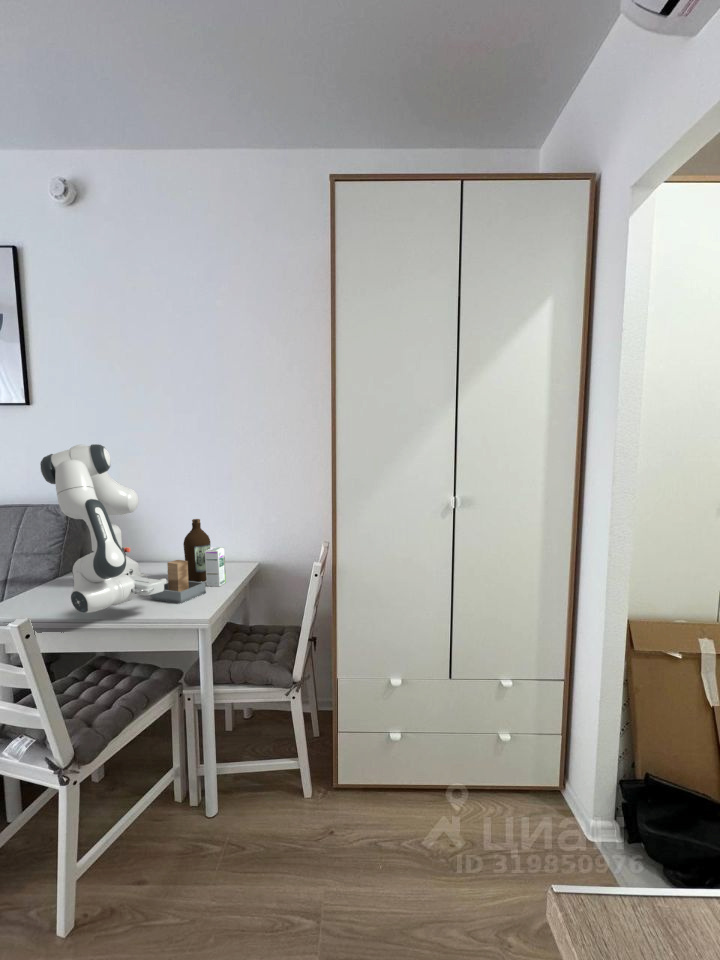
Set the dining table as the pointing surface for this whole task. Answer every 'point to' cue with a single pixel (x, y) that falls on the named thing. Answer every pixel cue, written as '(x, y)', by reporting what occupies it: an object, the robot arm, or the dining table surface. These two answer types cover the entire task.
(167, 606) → the dining table surface
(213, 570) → the syrup box
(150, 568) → the dining table surface
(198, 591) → the bin
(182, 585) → the wooden block
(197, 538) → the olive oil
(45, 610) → the dining table surface
